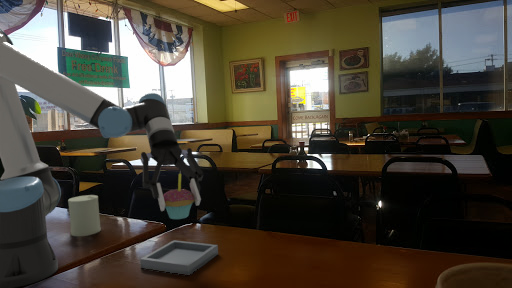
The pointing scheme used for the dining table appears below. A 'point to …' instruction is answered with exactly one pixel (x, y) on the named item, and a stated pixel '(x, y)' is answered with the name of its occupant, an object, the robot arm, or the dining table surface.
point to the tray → (180, 257)
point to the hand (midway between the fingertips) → (181, 205)
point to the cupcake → (178, 202)
